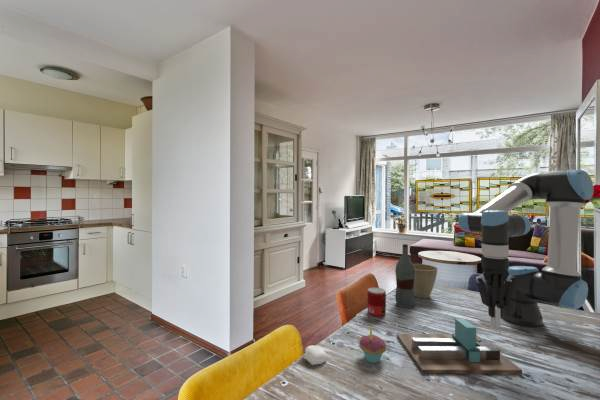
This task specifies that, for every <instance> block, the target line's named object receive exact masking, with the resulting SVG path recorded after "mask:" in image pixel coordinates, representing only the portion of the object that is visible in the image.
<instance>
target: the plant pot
mask: <svg viewBox="0 0 600 400" xmlns="http://www.w3.org/2000/svg"><path fill="white" fill-rule="evenodd" d="M413 264H414V268H415V277H414V294H415V298H416V297H417V298H420V299H429V298H430V296H431V295H432V294H431V293H432V291H433V289H434V286H435V282H436V279H437V275H438V267H437V266H434V265H431V264H423V263H413Z"/></svg>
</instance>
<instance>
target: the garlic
mask: <svg viewBox="0 0 600 400" xmlns="http://www.w3.org/2000/svg"><path fill="white" fill-rule="evenodd" d="M304 353H306V354H305V355H304V356H303V359H304V360H306V361H308V363H309V364H310V365H312V366H314V365H321V364H323V363H325V362H326V361H327V359H328V358H327V356H328V354H327V352H326V351H325V350H324V349H323V348H322V347H321V346H319V345H313V344H312V345H311V344H310V345H307V346H306V348H305V349H304Z"/></svg>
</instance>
